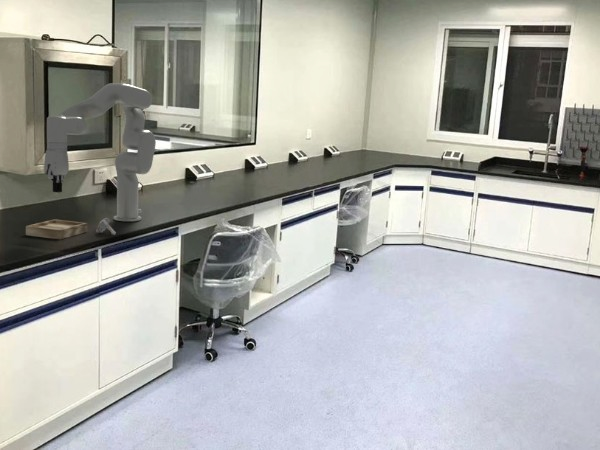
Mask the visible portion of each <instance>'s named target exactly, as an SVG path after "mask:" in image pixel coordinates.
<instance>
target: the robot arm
mask: <svg viewBox="0 0 600 450" xmlns="http://www.w3.org/2000/svg"><path fill="white" fill-rule="evenodd" d="M152 103H153V96H152V94H151V93H150V92H149V90H147V89H144V88H140V87H137V86H134V85H131V84H128V83H127V84H126V83H117V82H114V83H113V82H111V83H107V84H106V85H104V86H103V87H102V88H100V89H99V90H97V92H95V93H94V94H92V95H91V96H90V97H88V98H87V99H85V100H82V101H81V102H78V103H76V104H73V105H71V106H68V107H67V108H65V109H64V110H63V111H62V112H61V113H59V114H58V115H49V116H48V117H46V151H45V154H44V163H43V164H44V165H43V166H44V167H43V173H44V175H47V179H50V181H51V182H52V192H53V193H63V182H64V178H66V177H67V176H68V175H67V174H68V173H69V168H70V166H69V154H68V135H72V136H74V135H75V136H81V135H82V134H84V133H86V132H87V128H88V123H87V121H86V120H88V119H95V118H98V117H100V116H102V115H104V114H105V113H106V112H107V111H108V110H109V109H111V108H113V106H115V105H116V104H119V105H120V106H121V108H122V109H123V111H124V114H125V123H124V128H123V135H122V145H123V147H124V148H126V149H128V150H133V151H137V152H133V151H122V152H120V153H118V154H117V155H116V157H115V160H114V166H115V170H116V180H117V181H116V183H117V184H116V185H117V186H116V215H113V220H114V221H118V222H137V221H142V216H140V215H139V214H141V213H142V211H143V210H142V209H141V208H139V179H138V175H146V174H148V173H149V172H150V170H151V169H152V166H153V161H154V156H155V150H156V142H157V141H156V136H155V134H154V133H153V132H152V131H150V130H148V129H145V124H146V119H145V114H144V112H143V110H147V109H148V108H150V107H151V106H152Z"/></svg>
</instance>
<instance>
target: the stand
mask: <svg viewBox="0 0 600 450" xmlns="http://www.w3.org/2000/svg"><path fill="white" fill-rule="evenodd" d="M110 221H111V219H110V218H108V217H105V218H103V219H102V220H101V221H99V223H98V225H97V228H96V233H98V234H99V233H103V232H104V231H106V230H108V231H109V232H110V233H111V235H113V236H115V235H116V233H117V232H116V231H115V230H114V228H112V226H111V225H110Z"/></svg>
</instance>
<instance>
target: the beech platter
mask: <svg viewBox="0 0 600 450" xmlns="http://www.w3.org/2000/svg"><path fill="white" fill-rule="evenodd" d="M87 232H88V222H81V221H79V222H78V221H71V220H64V219H63V220H62V219H51V220H46V221H42V222H41V221H40V222H37V223H34V224H29V225H26V226H25V236H29V237H30V236H31V237H38V238H39V237H40V238H46V239H55V240H64V239H67V238H70V237H74V236H78V235H81V234H84V233H87Z"/></svg>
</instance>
